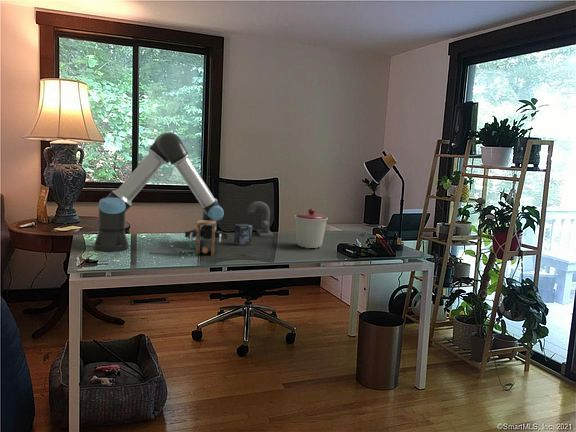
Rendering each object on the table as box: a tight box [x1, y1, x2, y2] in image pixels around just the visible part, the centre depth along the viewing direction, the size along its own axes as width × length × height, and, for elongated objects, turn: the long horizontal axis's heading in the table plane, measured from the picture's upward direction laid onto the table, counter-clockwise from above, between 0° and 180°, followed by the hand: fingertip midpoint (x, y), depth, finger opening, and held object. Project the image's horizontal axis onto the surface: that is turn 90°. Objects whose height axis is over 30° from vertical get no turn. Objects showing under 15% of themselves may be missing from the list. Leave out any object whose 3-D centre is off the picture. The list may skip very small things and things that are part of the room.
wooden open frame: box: [195, 219, 216, 257], centre depth 235 cm, size 8×8×16 cm
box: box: [233, 223, 253, 246], centre depth 264 cm, size 8×6×11 cm
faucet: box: [246, 200, 275, 238], centre depth 297 cm, size 18×16×20 cm
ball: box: [201, 246, 210, 255], centre depth 236 cm, size 4×4×4 cm
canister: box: [294, 207, 329, 249], centre depth 268 cm, size 18×18×21 cm
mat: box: [150, 246, 183, 256], centre depth 236 cm, size 13×13×1 cm
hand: (205, 238), depth 232 cm, fingers open, 13 cm apart
